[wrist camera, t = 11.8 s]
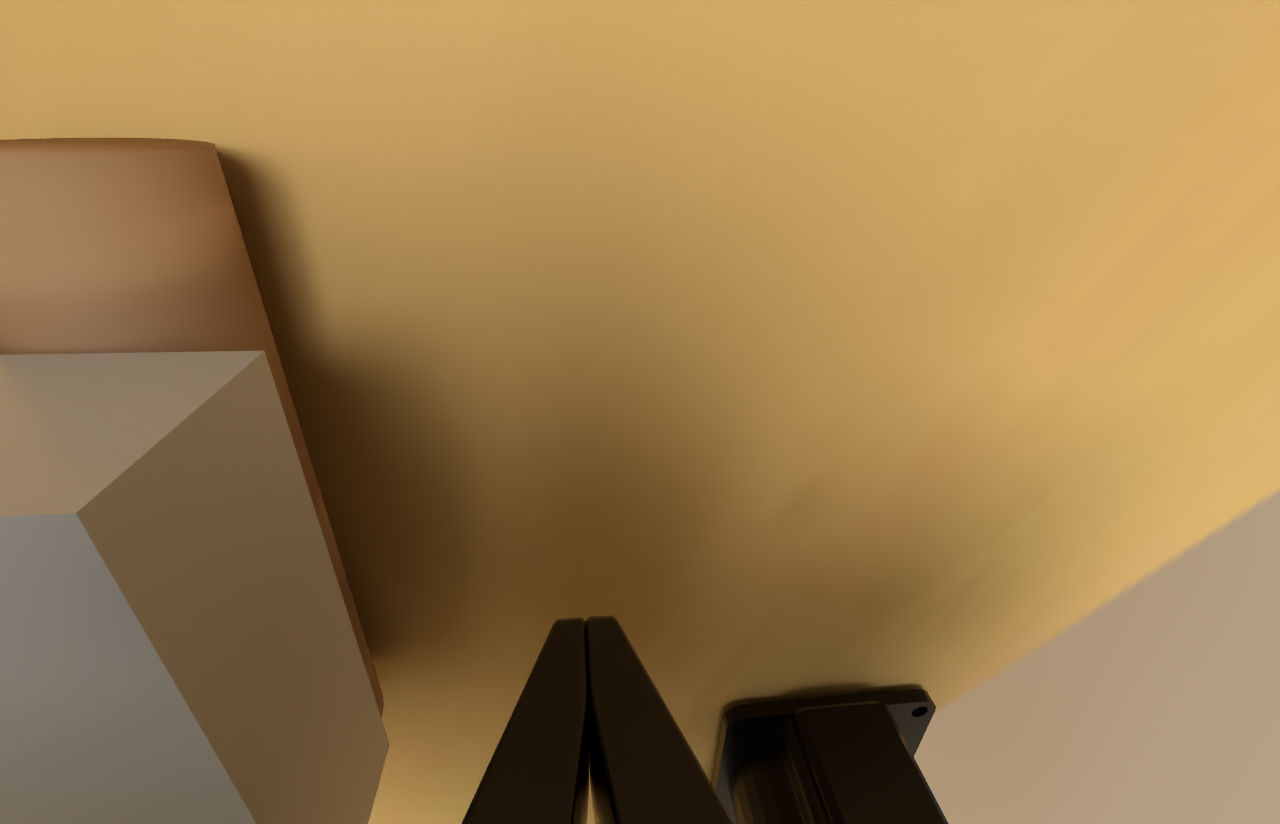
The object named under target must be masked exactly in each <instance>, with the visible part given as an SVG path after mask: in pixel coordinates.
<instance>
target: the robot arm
mask: <svg viewBox="0 0 1280 824" xmlns="http://www.w3.org/2000/svg"><path fill="white" fill-rule="evenodd" d="M935 708H936V706H935V705H934V703H933V701H932V700H931V698H930V696H929V695H928V693H927V691H925V690H920V689H915V690H904V691H893V692H882V693H871V694H860V695H849V696H838V697H827V698H815V699H804V700H793V701H782V702H771V703H760V704H749V705H740V706H735V707H733V708H731V709H729V710H728V711H727V712H725V714H724V716H723V719H722V725H721V731H720V737H719V743H718V749H717V755H716V761H715V767H714V773H713V779H712V784H711V783H710V781H709V779H708V777H707V776H706V774H705V772H704V770H703V769H702V767H701V765H700V763H699V762H698V760H697V758H696V756H695V755H694V753H693V751H692V749H691V748H690V746H689V744H688V742H687V741H686V739H685V737H684V736H683V734H682V732H681V730H680V729H679V727H678V725H677V723H676V722H675V720H674V718H673V716H672V715H671V713H670V711H669V709H668V708H667V706H666V704H665V702H664V701H663V699H662V697H661V695H660V694H659V692H658V690H657V688H656V687H655V685H654V683H653V681H652V680H651V678H650V676H649V674H648V673H647V671H646V669H645V667H644V666H643V664H642V662H641V660H640V659H639V657H638V655H637V653H636V652H635V650H634V648H633V646H632V645H631V643H630V641H629V639H628V638H627V636H626V634H625V633H624V631H623V629H622V627H621V626H620V624H619V622H618V620H617V619H616V618H615V617H614V616H611V615H608V616H593V617H589V618H587V620H586V628H585V620H584V619H583V618H580V617H577V618H562V619H558V620H556V621H555V623H554V624H553V626H552V628H551V630H550V632H549V635H548V637H547V639H546V641H545V643H544V645H543V648H542V650H541V652H540V654H539V656H538V658H537V661H536V663H535V665H534V667H533V669H532V672H531V674H530V676H529V678H528V680H527V682H526V685H525V687H524V689H523V691H522V693H521V695H520V698H519V700H518V702H517V704H516V706H515V708H514V711H513V713H512V715H511V717H510V719H509V722H508V724H507V726H506V728H505V730H504V732H503V735H502V737H501V739H500V741H499V743H498V745H497V748H496V750H495V752H494V754H493V756H492V759H491V761H490V763H489V765H488V767H487V769H486V772H485V774H484V776H483V778H482V780H481V782H480V785H479V787H478V789H477V791H476V793H475V795H474V798H473V800H472V802H471V804H470V806H469V809H468V811H467V813H466V815H465V817H464V819H463V822H462V824H587V812H588V796H589V768H590V785H591V794H592V803H593V810H594V817H595V824H948V822H947V820H946V818H945V816H944V815H943V813H942V811H941V809H940V807H939V805H938V803H937V801H936V799H935V797H934V795H933V793H932V791H931V790H930V788H929V786H928V784H927V782H926V781H925V778H924V776H923V774H922V772H921V770H920V769H919V767H918V765H917V763H916V761H915V759H914V755H915V753H916V750H917V748H918V746H919V744H920V742H921V740H922V738H923V735H924V733H925V731H926V729H927V727H928V725H929V723H930V720H931V718H932V716H933V714H934V712H935Z"/></svg>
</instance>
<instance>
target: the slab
mask: <svg viewBox="0 0 1280 824" xmlns="http://www.w3.org/2000/svg"><path fill="white" fill-rule="evenodd" d="M388 748H389V741H388V738H387V735H386V732H385V729H384V726H383V722H382V719H381V716H380V713H379V710H378V707H377V704H376V700H375V697H374V694H373V691H372V688H371V685H370V682H369V678H368V675H367V672H366V669H365V666H364V663H363V660H362V656H361V653H360V650H359V647H358V644H357V641H356V638H355V634H354V631H353V628H352V625H351V622H350V619H349V615H348V612H347V609H346V606H345V603H344V600H343V597H342V593H341V590H340V587H339V584H338V581H337V578H336V575H335V571H334V568H333V565H332V562H331V559H330V556H329V553H328V549H327V546H326V543H325V540H324V537H323V534H322V531H321V527H320V524H319V521H318V518H317V515H316V512H315V508H314V505H313V502H312V499H311V496H310V493H309V490H308V486H307V483H306V480H305V477H304V474H303V471H302V468H301V464H300V461H299V458H298V455H297V452H296V449H295V446H294V442H293V439H292V436H291V433H290V430H289V427H288V424H287V420H286V417H285V414H284V411H283V408H282V405H281V402H280V398H279V395H278V392H277V389H276V386H275V383H274V379H273V376H272V373H271V370H270V367H269V364H268V361H267V357H266V354H265V351H211V352H147V353H83V354H19V355H0V824H368V822H369V818H370V814H371V811H372V807H373V803H374V799H375V796H376V792H377V788H378V785H379V781H380V777H381V774H382V770H383V766H384V762H385V759H386V755H387V751H388Z"/></svg>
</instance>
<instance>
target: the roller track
mask: <svg viewBox="0 0 1280 824" xmlns="http://www.w3.org/2000/svg"><path fill="white" fill-rule="evenodd" d="M211 351H265V354H266V357H267V361H268V364H269V367H270V370H271V373H272V376H273V379H274V383H275V386H276V389H277V392H278V395H279V398H280V402H281V405H282V408H283V411H284V414H285V417H286V420H287V424H288V427H289V430H290V433H291V436H292V439H293V442H294V446H295V449H296V452H297V455H298V458H299V461H300V464H301V468H302V471H303V474H304V477H305V480H306V483H307V486H308V490H309V493H310V496H311V499H312V502H313V505H314V508H315V512H316V515H317V518H318V521H319V524H320V527H321V531H322V534H323V537H324V540H325V543H326V546H327V549H328V553H329V556H330V559H331V562H332V565H333V568H334V571H335V575H336V578H337V581H338V584H339V587H340V590H341V593H342V597H343V600H344V603H345V606H346V609H347V612H348V615H349V619H350V622H351V625H352V628H353V631H354V634H355V638H356V641H357V644H358V647H359V650H360V653H361V656H362V660H363V663H364V666H365V669H366V672H367V675H368V678H369V682H370V685H371V688H372V691H373V694H374V697H375V700H376V704H377V707H378V710H379V713H380V716H381V718H382V714H383V705H384V702H383V695H382V691H381V688H380V684H379V681H378V678H377V675H376V671H375V668H374V665H373V662H372V658H371V655H370V652H369V648H368V645H367V642H366V639H365V635H364V632H363V629H362V626H361V622H360V619H359V616H358V612H357V609H356V606H355V603H354V599H353V596H352V593H351V590H350V586H349V583H348V580H347V576H346V573H345V570H344V567H343V563H342V560H341V557H340V554H339V550H338V547H337V544H336V540H335V537H334V534H333V531H332V527H331V524H330V521H329V518H328V514H327V511H326V508H325V504H324V501H323V498H322V495H321V491H320V488H319V485H318V482H317V478H316V475H315V472H314V468H313V465H312V462H311V459H310V455H309V452H308V449H307V445H306V442H305V439H304V436H303V432H302V429H301V426H300V423H299V419H298V416H297V413H296V409H295V406H294V403H293V400H292V396H291V393H290V390H289V387H288V383H287V380H286V377H285V373H284V370H283V367H282V364H281V360H280V357H279V354H278V351H277V347H276V344H275V341H274V337H273V334H272V331H271V328H270V324H269V321H268V318H267V315H266V311H265V308H264V305H263V301H262V298H261V295H260V292H259V288H258V285H257V282H256V279H255V275H254V272H253V269H252V265H251V262H250V259H249V256H248V252H247V249H246V246H245V243H244V239H243V236H242V233H241V229H240V226H239V223H238V220H237V216H236V213H235V210H234V207H233V203H232V200H231V197H230V193H229V190H228V187H227V184H226V180H225V177H224V174H223V171H222V167H221V164H220V161H219V157H218V154H217V151H216V148H215V145H214V144H212V143H208V142H202V141H192V140H177V139H151V138H53V139H17V140H0V355H19V354H83V353H147V352H211Z"/></svg>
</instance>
